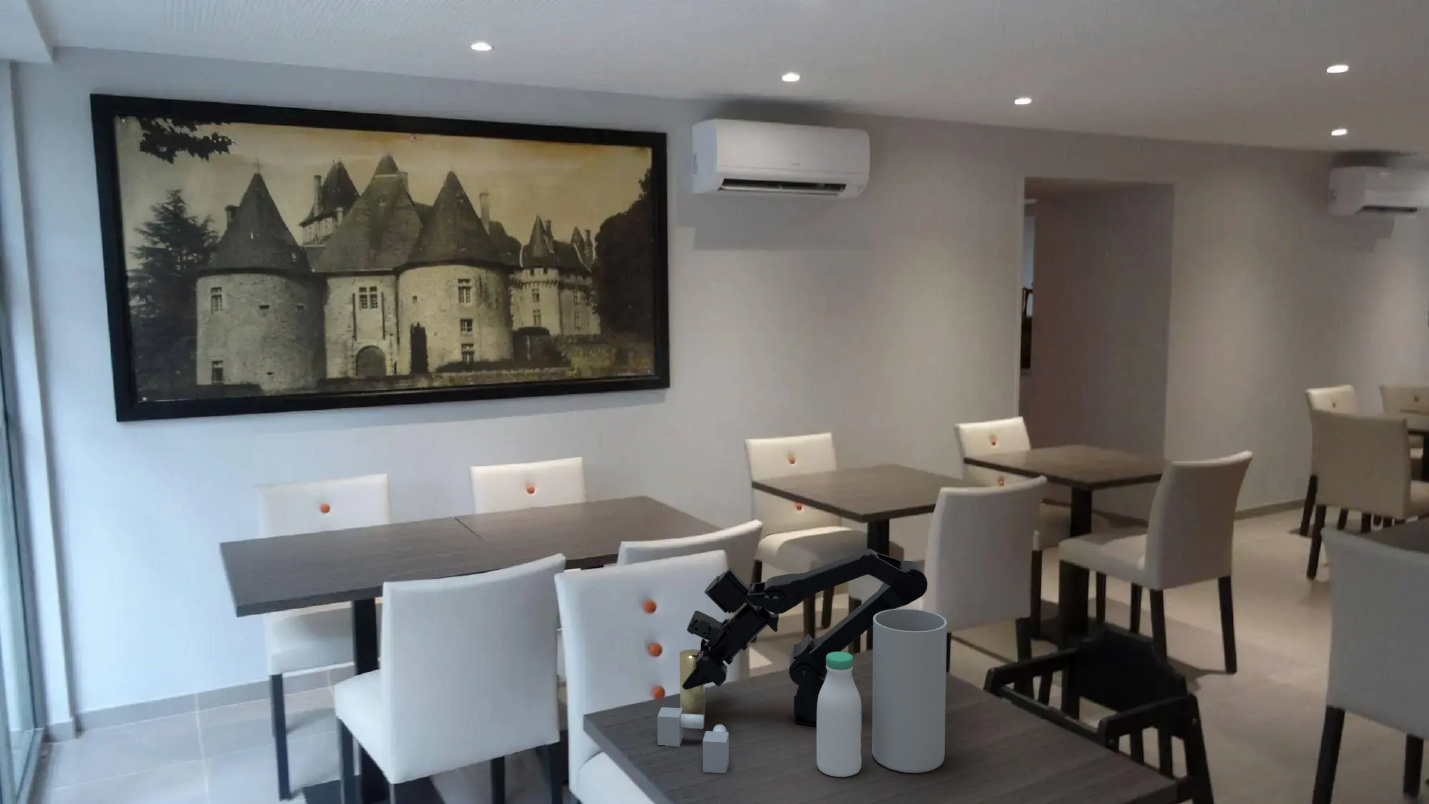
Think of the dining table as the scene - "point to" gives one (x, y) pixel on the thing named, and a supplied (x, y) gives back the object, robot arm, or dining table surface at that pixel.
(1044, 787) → the dining table surface
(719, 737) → the shaft on bearing block
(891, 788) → the dining table surface
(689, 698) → the olive pillar candle
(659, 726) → the shaft on bearing block
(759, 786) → the dining table surface
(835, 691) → the milk bottle
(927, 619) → the cylinder vase
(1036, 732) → the dining table surface
